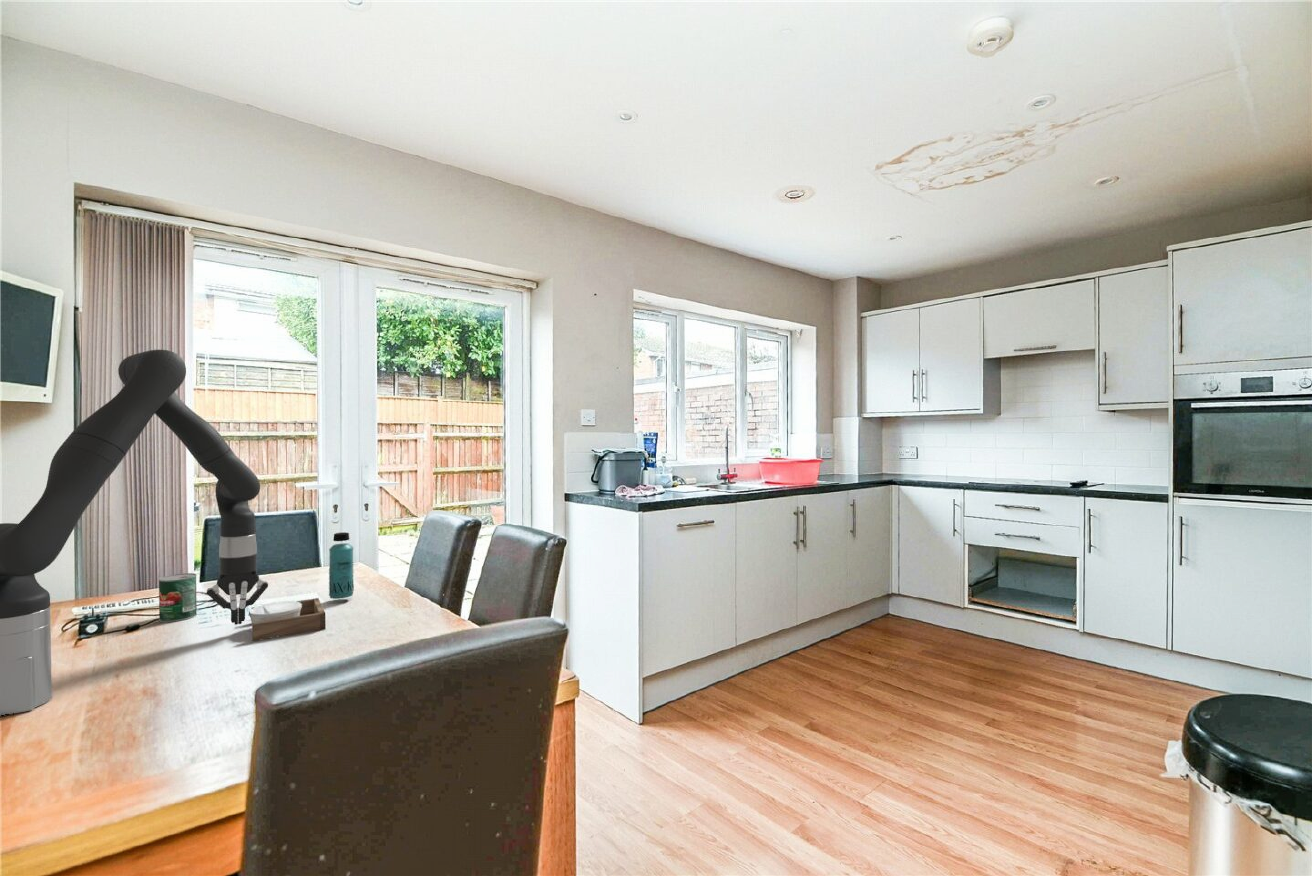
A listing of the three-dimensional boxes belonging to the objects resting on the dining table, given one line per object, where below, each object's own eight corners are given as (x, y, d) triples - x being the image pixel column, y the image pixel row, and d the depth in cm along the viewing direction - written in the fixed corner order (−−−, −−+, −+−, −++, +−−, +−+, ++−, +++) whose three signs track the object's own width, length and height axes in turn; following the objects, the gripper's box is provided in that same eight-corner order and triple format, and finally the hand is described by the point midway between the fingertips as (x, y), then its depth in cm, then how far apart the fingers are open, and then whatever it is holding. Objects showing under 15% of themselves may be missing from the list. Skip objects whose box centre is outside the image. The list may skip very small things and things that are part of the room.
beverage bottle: (323, 602, 173) (323, 533, 173) (345, 596, 179) (344, 530, 179) (338, 605, 170) (337, 535, 170) (359, 599, 176) (358, 532, 176)
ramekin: (238, 633, 147) (237, 611, 147) (278, 619, 158) (278, 599, 158) (273, 637, 144) (273, 615, 144) (312, 623, 155) (311, 602, 155)
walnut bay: (325, 629, 150) (325, 613, 150) (252, 641, 142) (252, 624, 142) (318, 612, 164) (318, 598, 164) (251, 623, 155) (251, 607, 155)
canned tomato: (152, 623, 155) (152, 581, 155) (168, 614, 162) (167, 574, 162) (188, 620, 157) (187, 579, 157) (202, 612, 164) (201, 572, 164)
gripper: (203, 559, 140) (203, 633, 140) (270, 552, 147) (270, 622, 147) (205, 553, 146) (205, 624, 146) (269, 548, 153) (269, 615, 154)
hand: (238, 623), depth 147 cm, fingers closed
